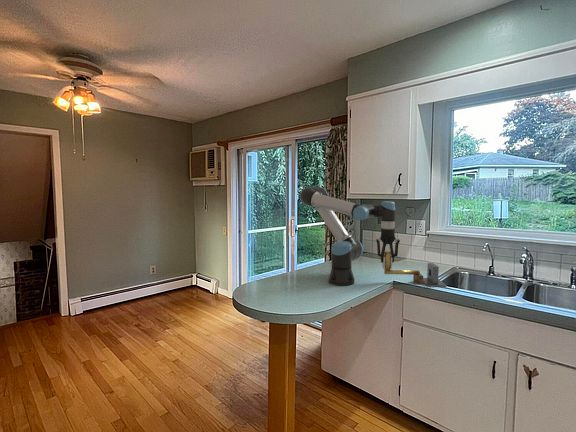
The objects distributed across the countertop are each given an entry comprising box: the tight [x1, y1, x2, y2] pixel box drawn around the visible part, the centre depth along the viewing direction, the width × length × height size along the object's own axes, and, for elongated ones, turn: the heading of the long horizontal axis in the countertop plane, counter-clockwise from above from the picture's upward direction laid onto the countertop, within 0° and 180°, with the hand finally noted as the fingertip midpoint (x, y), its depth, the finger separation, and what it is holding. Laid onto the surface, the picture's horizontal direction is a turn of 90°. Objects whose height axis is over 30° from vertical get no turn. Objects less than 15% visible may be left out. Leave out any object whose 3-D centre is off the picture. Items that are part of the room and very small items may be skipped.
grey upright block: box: [423, 262, 447, 288], centre depth 182 cm, size 10×14×10 cm
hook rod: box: [383, 250, 421, 275], centre depth 183 cm, size 20×3×13 cm, turn 85°
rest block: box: [412, 273, 424, 285], centre depth 183 cm, size 4×5×5 cm
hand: (387, 267), depth 184 cm, fingers closed on hook rod, 3 cm apart
